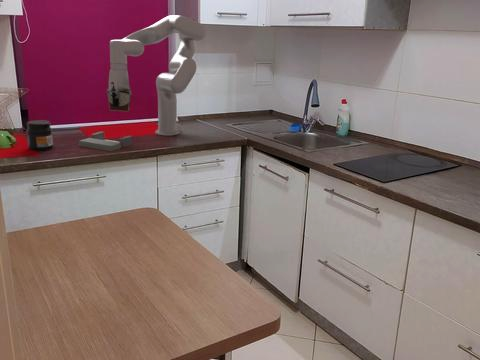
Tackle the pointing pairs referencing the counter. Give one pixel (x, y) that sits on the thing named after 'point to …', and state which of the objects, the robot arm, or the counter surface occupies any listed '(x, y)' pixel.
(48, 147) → the supplement container
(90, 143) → the grey piece
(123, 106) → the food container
